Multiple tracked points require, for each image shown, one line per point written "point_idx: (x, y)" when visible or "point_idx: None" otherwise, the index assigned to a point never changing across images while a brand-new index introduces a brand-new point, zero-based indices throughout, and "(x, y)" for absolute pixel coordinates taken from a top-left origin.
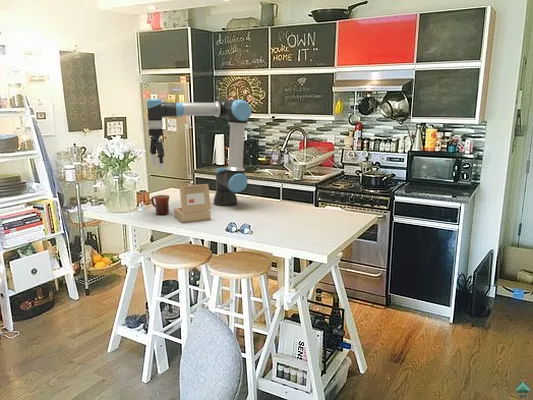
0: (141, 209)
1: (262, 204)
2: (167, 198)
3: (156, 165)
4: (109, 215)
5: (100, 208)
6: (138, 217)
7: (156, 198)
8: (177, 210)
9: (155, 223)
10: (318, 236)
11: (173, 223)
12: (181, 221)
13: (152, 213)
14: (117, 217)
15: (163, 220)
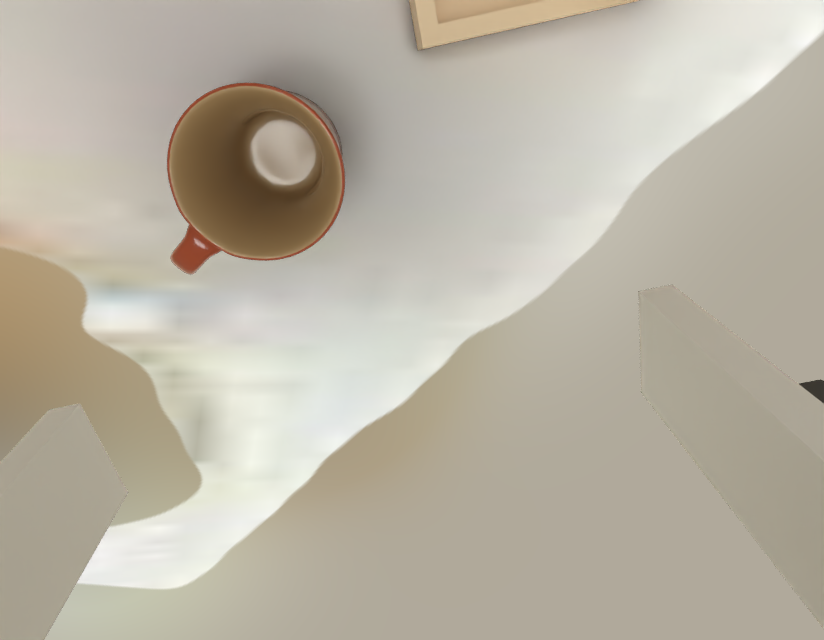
0: (112, 308)
1: None
2: (317, 115)
3: (84, 418)
4: (273, 493)
5: None
6: (364, 330)
7: (321, 236)
8: (523, 24)
9: (566, 222)
10: None
11: (618, 83)
12: (613, 6)
13: None
14: (334, 450)
15: (501, 157)
